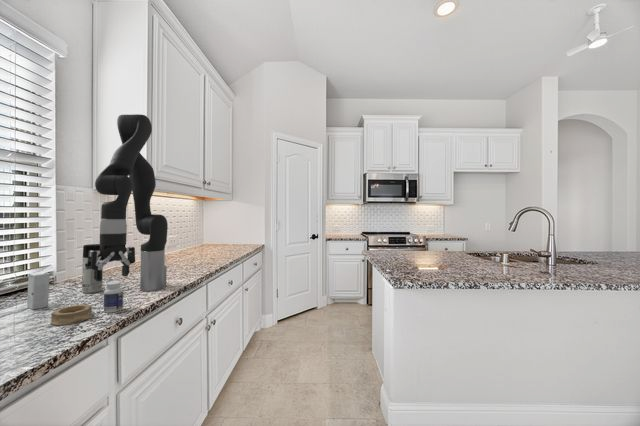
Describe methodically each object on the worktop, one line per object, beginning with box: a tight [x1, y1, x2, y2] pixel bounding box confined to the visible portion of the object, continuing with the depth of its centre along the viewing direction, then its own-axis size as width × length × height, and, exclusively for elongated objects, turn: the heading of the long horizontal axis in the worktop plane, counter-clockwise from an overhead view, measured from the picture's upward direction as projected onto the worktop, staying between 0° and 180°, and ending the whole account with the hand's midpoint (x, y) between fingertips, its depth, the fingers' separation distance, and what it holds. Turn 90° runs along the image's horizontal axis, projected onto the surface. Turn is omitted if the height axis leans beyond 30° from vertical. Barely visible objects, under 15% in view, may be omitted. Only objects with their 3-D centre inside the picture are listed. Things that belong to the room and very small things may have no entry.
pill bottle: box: [103, 281, 124, 314], centre depth 96 cm, size 5×5×10 cm
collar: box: [50, 303, 93, 326], centre depth 89 cm, size 10×10×3 cm
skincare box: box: [26, 270, 51, 310], centre depth 99 cm, size 6×4×12 cm
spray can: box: [81, 243, 104, 294], centre depth 118 cm, size 7×7×20 cm
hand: (112, 278), depth 96 cm, fingers open, 8 cm apart
